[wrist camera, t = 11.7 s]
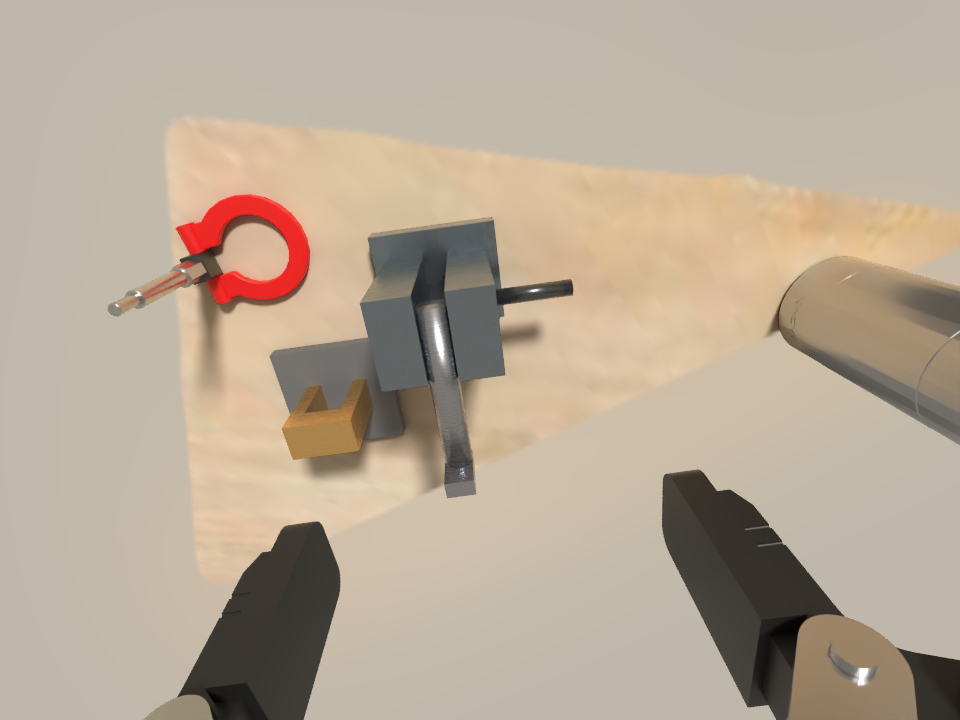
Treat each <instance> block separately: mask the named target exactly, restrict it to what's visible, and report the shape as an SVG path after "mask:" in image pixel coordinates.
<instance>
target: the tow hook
mask: <svg viewBox="0 0 960 720" xmlns="http://www.w3.org/2000/svg"><path fill="white" fill-rule="evenodd" d="M244 215H252V216H258V217H261V218H263V219H265V220H268V221H269V222H271V223H272V224H273V225H275V226H276V227H277V228H278V229H279V230H280V232H281V233H282V234H283V235H284V237H285V239H286V241H287V244H288V248H289V262H288V265H287V268H286V269H285V271H284V272H283V273H282V274H281V275H280V276H279V277H277V278H275V279H272V280H268V281H257V280H252V279H249V278H247V277H244V276H242V275H241V274H240V273H238V272H236V271H232V272H229V273H226V274H222V271H221V269H220V267H219V265H218V263H217V261H216V259H215V257H214V255H213V254H212V252H211V250H210V249H208V248H212V247H215V246H218V245H220V244H221V242H222V235H223V232H224V229H225V228H226V226H227V225H228V223H229V222H230V221H232V220H233V219H234V218H236V217H239V216H244ZM176 230H177V231H178V233H179V235H180V237H181V239H182V241H183V242H184V244H185V246H186V248H187V250H188V251H189V253H190V255H189V256H187V257H184V258H182V259H180V262H181V264H179V265H176V266H174V267H173V268H172V270H171V271H170V273H168V274H165V275H163V276H161V277H159V278H157V279H155V280H152V281H150V282H148V283H146V284H144V285H142V286H140V287H137V288H135V289H133V290H131V291H129V292H127V293H126V295H125V297H124V298H122V299H120V300H118V301H116V302H114V303H112V304H110V305H109V306H108V311H109V313H110V314H111V315H113V316H120V315H122V314H124V313H125V312H127V311H129V310H131V309H133V308H136V309H140V308H143V307H145V306H146V305H148V304H150V303H152V302H154V301H156V300H158V299H159V298H161V297H163V296H165V295H167V294H169V293H171V292H172V291H174V290H176V289H178V288H180V287H184V288H187V287H189V286H191V285H192V284H194V285H195V284H198V283H202V282H206V284H207V286H208V288H209V290H210V291H211V293H212V295H213V297H214V299H215V301H216V302H217V304H224V303H227V302H229V301H231V300H232V299H234V297H236V296H239V295H241V296H243V297H246V298H250V299H257V300H268V299H275V298H278V297H281V296H284V295H286V294H288V293H289V292H290V291H292V290H293V289H294V288H296V287H297V286H298V285H299V283H300V282H301V281H302V279H303V278H304V277H305V275H306V272H307V269H308V266H309V259H310V250H309V245H308V240H307V237H306V235H305V233H304V231H303V229H302V226H301V225H300V223H299V222H298V221H297V220H296V218H295V217H294V216H293V215H292V213H290V212H289V211H288V210H286V209H285V208H284V207H283V206H281V205H280V204H278V203H276V202H274V201H272V200H270V199H268V198H266V197H261V196H256V195H251V194H249V195H235V196H232V197H229V198H226V199H223V200H221V201H219V202H218V203H216V204H215V205H214V206H213V207H211V208H210V209H209V210H208V212H207V213H206V215H205V216H204V218H203V219H202V222H199V223H196V224H195V223H194V222H192V223H188V224H185V225H182V226H178V227H176Z"/></svg>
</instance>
